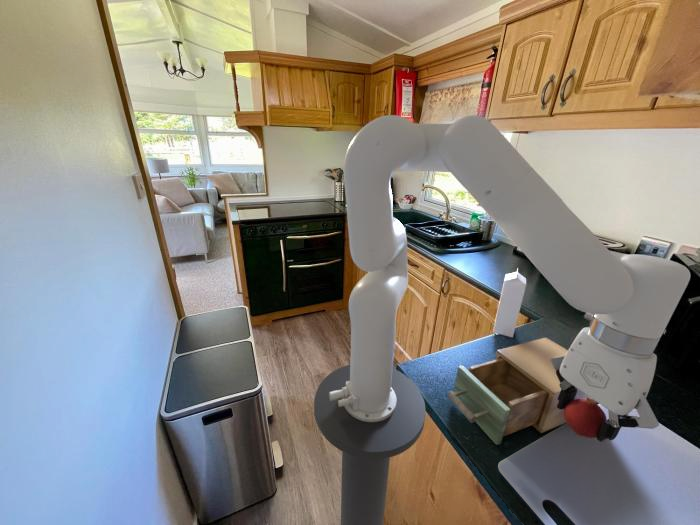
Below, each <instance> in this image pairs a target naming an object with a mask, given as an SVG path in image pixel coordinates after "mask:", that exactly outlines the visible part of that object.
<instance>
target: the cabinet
mask: <svg viewBox="0 0 700 525" xmlns="http://www.w3.org/2000/svg"><path fill="white" fill-rule="evenodd" d="M568 350H569V349H566V348H565V347H563V346H561V345H560V344H558V343H556V342H554V341H553V340H551V339H550V338H547V337H542V338H538V339H534V340H531V341H527V342H523V343H520V344H515V345H511V346H507V347H505V348H504V347H503V348H502V349H497V350H496V353H495V357H494V360H496V359H500V358H503V359H504V360H506V361H507V362H508V363H510V364H511V365H512V366H514V367H515V368H516V369H518V370H519V371H520V372H522V373H523V374H524V375H526V376H527V377H528V378H530V379H531V380H532V381H534V382H535V383H536V384H537V385H539V386H540V387H541V388H543V389H544V390H545V391H547V392H548V393H549V396H548V399H547V402H546V405H545V408H544V411H543V414H542V417H541V420H540V422H538V423H536V424H533V425H531V426H532V427H533V428H535V429H536V430H537V431H538V432H539V434H542V433H545V432H547V431H550V430H552V429H554V428H557V427H559V426H561V425H564V424H566V423H567V422H566V420H565V417H564V409H562V410H561V409H558V408H557V405H558V402H559V400H558V396H559V394H560V391H561V388H560V386H559V384H560V381H559V379H558V377H557V374H556V369H555V368H554V366H553V364H552V362H551V359H552V358H555V357H560V356H565V355H566V353H567V352H568ZM565 367H566V366H565ZM577 391H578V392H577V394H576V396H575V399H587V397H589V396H588V395H586V394H585V393H583V392H582V391H580V390H579V389H578V388H577ZM589 398H590V397H589ZM575 399H574V400H575ZM594 401H595V400H594ZM595 402H596V401H595ZM596 403H597V402H596Z"/></svg>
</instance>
